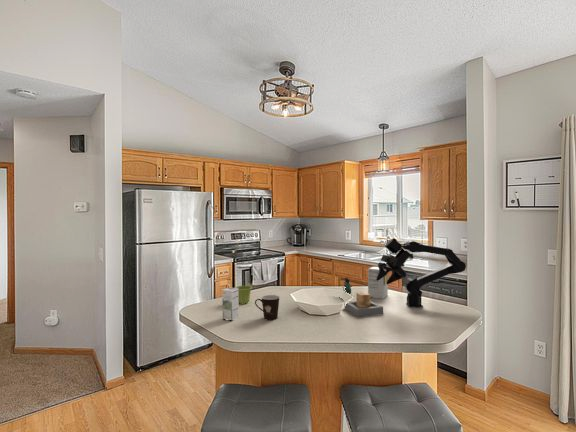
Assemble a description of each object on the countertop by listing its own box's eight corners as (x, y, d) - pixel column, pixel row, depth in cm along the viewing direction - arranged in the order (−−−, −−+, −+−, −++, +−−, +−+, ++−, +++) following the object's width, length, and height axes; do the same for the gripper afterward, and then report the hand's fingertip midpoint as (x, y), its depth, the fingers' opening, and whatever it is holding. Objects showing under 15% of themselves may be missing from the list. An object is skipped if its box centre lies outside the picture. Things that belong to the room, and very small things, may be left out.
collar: (368, 306, 172) (368, 299, 172) (383, 314, 159) (383, 306, 159) (344, 308, 168) (344, 302, 168) (357, 317, 155) (357, 309, 155)
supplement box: (383, 299, 186) (383, 269, 185) (367, 297, 191) (367, 268, 190) (388, 295, 194) (387, 267, 193) (373, 293, 199) (372, 266, 199)
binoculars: (333, 278, 198) (349, 276, 198) (335, 295, 198) (351, 293, 198) (335, 281, 189) (352, 279, 189) (337, 299, 189) (354, 297, 189)
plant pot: (238, 300, 187) (237, 285, 187) (253, 300, 186) (253, 285, 186) (233, 305, 178) (232, 289, 178) (249, 305, 176) (249, 289, 176)
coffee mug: (283, 317, 155) (283, 296, 155) (270, 322, 149) (270, 300, 149) (266, 312, 163) (266, 293, 163) (253, 316, 157) (253, 296, 157)
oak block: (365, 309, 167) (365, 292, 167) (370, 312, 162) (370, 294, 162) (356, 310, 165) (356, 292, 165) (361, 313, 160) (361, 295, 160)
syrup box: (239, 317, 156) (238, 287, 156) (232, 321, 150) (231, 290, 150) (229, 316, 158) (229, 286, 158) (222, 320, 153) (221, 289, 153)
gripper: (380, 247, 179) (362, 268, 176) (401, 251, 162) (382, 274, 159) (392, 261, 182) (375, 282, 179) (414, 266, 164) (396, 289, 161)
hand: (381, 281), depth 169 cm, fingers open, 9 cm apart
